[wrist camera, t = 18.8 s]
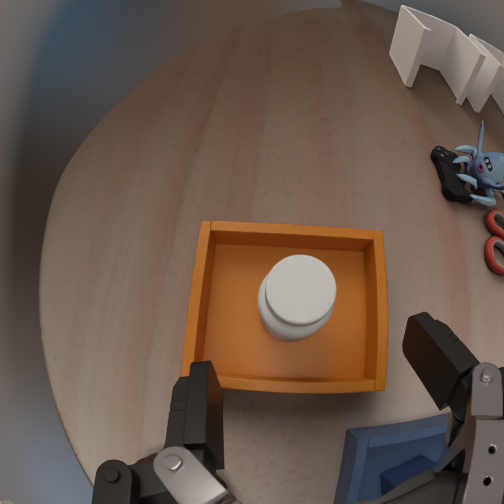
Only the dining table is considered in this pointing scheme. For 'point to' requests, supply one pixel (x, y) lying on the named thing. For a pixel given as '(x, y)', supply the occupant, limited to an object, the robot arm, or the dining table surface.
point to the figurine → (470, 172)
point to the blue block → (405, 472)
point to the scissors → (494, 240)
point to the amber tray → (248, 319)
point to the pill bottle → (296, 298)
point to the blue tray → (385, 454)
